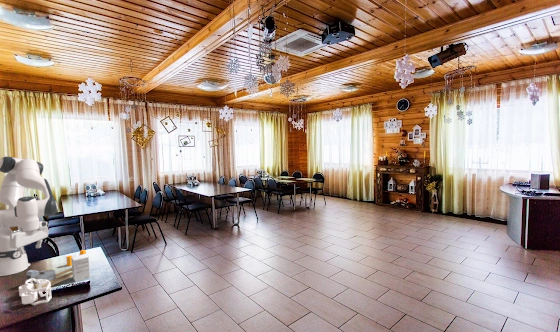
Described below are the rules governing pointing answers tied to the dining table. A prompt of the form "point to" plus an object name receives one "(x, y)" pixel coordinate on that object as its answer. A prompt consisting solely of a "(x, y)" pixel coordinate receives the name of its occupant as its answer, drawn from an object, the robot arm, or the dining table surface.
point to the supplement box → (80, 267)
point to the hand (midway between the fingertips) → (30, 250)
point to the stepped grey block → (31, 274)
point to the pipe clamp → (72, 256)
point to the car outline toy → (34, 291)
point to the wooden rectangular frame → (52, 277)
